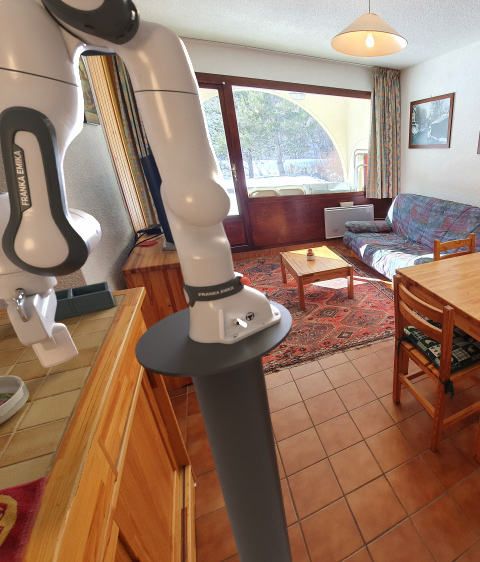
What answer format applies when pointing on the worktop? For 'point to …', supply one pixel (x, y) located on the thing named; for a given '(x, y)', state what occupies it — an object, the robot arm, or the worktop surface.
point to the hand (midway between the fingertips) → (52, 342)
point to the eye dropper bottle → (57, 348)
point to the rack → (83, 300)
